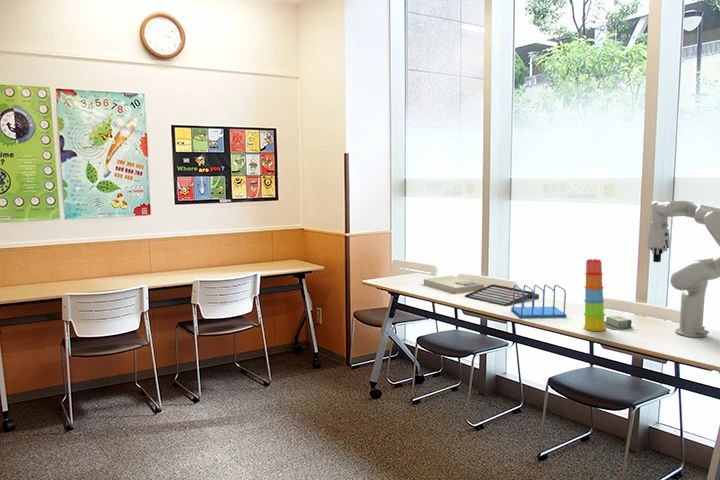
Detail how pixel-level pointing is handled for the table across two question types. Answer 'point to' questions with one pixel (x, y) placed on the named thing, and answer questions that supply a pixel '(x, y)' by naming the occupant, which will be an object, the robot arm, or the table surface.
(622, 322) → the ink box
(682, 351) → the table surface
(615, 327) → the mat
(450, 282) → the puzzle box
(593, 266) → the stacking cups
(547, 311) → the file sorter
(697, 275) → the robot arm
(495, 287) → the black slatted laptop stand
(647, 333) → the table surface
